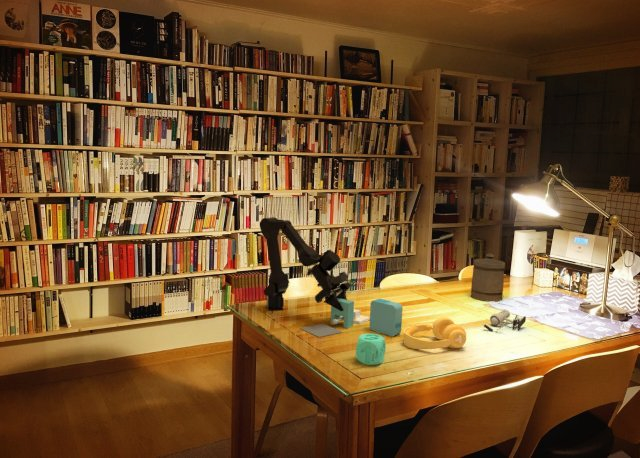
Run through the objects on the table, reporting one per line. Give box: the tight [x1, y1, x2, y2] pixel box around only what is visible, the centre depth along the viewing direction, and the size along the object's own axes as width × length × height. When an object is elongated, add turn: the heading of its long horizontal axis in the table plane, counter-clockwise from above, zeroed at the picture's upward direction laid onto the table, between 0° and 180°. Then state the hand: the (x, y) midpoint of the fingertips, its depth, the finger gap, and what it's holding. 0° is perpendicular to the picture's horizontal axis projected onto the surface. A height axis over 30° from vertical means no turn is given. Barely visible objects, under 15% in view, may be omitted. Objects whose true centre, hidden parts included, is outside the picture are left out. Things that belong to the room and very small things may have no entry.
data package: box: [369, 298, 403, 337], centre depth 212 cm, size 12×4×12 cm, turn 47°
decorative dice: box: [355, 333, 387, 366], centre depth 182 cm, size 8×8×8 cm
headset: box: [403, 316, 467, 350], centre depth 200 cm, size 18×21×9 cm
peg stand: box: [333, 308, 370, 325], centre depth 223 cm, size 10×19×4 cm, turn 145°
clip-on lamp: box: [482, 309, 527, 333], centre depth 223 cm, size 12×6×18 cm
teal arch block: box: [330, 298, 355, 329], centre depth 219 cm, size 8×4×10 cm, turn 55°
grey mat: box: [299, 323, 343, 338], centre depth 212 cm, size 12×11×1 cm
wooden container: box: [470, 253, 506, 302], centre depth 270 cm, size 15×15×22 cm
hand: (345, 309), depth 218 cm, fingers closed on teal arch block, 4 cm apart
